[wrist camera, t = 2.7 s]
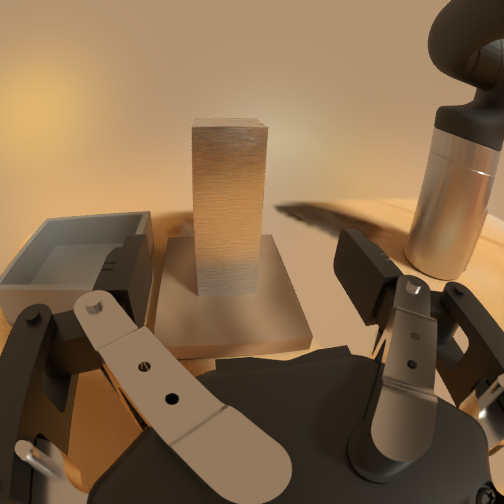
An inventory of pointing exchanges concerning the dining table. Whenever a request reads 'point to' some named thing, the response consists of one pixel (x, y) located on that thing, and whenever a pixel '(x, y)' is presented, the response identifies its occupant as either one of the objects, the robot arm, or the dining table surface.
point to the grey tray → (66, 260)
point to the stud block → (228, 309)
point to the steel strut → (228, 203)
